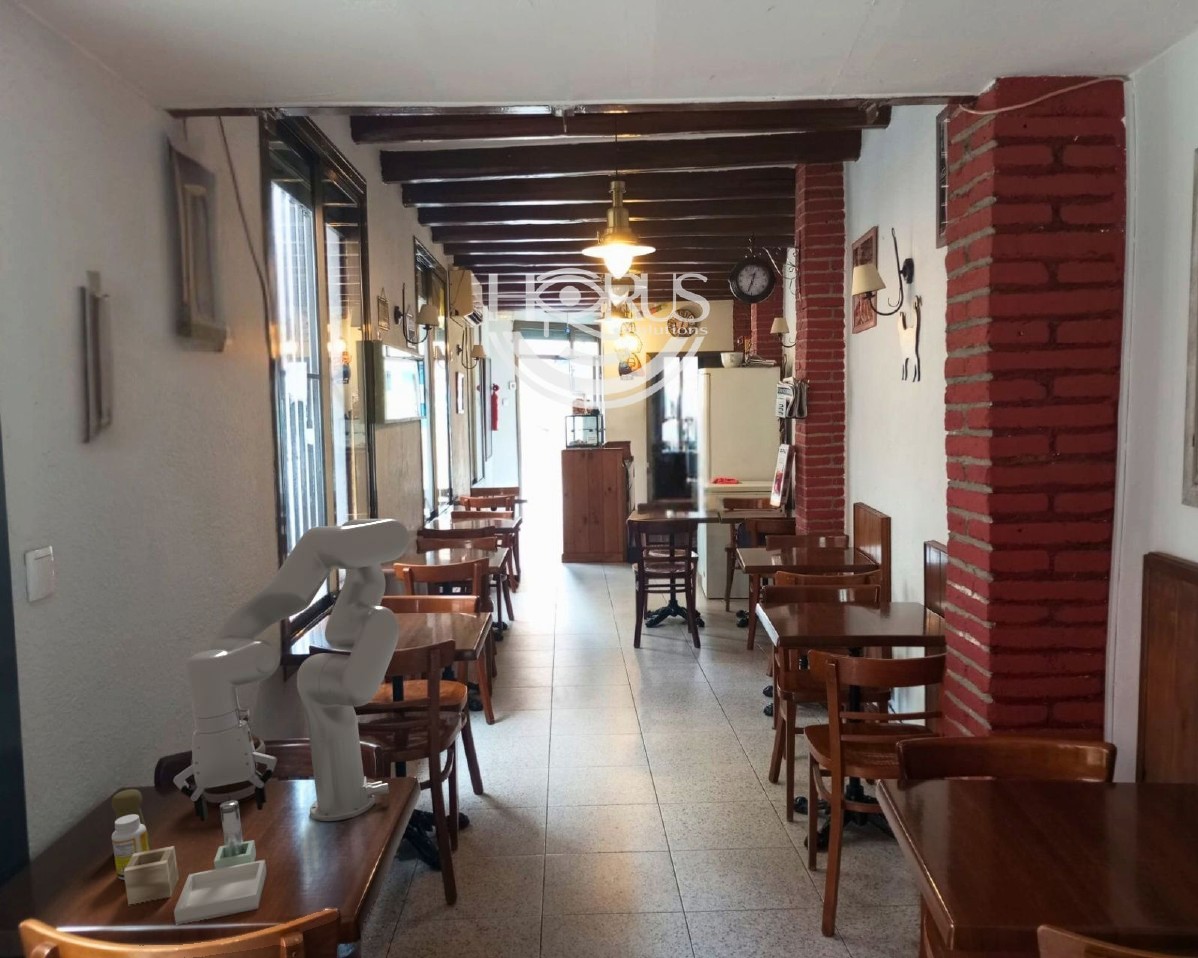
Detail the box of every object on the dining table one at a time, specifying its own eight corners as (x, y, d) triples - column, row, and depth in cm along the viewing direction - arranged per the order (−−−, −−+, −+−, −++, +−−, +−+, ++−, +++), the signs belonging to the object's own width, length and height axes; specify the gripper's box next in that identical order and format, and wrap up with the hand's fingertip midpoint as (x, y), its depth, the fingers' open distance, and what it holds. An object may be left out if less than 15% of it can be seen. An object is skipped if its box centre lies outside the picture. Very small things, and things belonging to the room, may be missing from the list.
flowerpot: (234, 815, 188) (221, 720, 187) (181, 807, 195) (168, 715, 193) (286, 786, 201) (275, 696, 200) (234, 779, 208) (223, 693, 206)
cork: (136, 855, 174) (128, 798, 174) (108, 854, 176) (100, 798, 175) (157, 839, 180) (150, 785, 179) (130, 839, 182) (123, 785, 181)
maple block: (178, 878, 163) (174, 845, 163) (170, 896, 157) (165, 862, 157) (138, 886, 162) (133, 853, 161) (128, 905, 156) (123, 871, 155)
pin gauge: (246, 857, 168) (239, 798, 167) (244, 865, 165) (236, 805, 164) (228, 860, 167) (221, 802, 167) (226, 868, 164) (218, 808, 164)
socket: (256, 854, 170) (254, 839, 170) (251, 869, 164) (249, 854, 164) (221, 861, 168) (219, 846, 168) (215, 876, 163) (213, 861, 162)
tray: (266, 872, 162) (264, 859, 162) (257, 908, 150) (256, 894, 150) (190, 887, 160) (189, 874, 159) (175, 925, 148) (173, 911, 147)
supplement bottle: (143, 862, 171) (136, 809, 170) (157, 870, 167) (149, 815, 166) (112, 876, 167) (104, 821, 166) (125, 884, 163) (117, 828, 162)
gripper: (271, 705, 170) (285, 794, 172) (170, 723, 166) (185, 814, 168) (266, 718, 163) (281, 811, 164) (161, 737, 159) (176, 832, 160)
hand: (232, 812), depth 166 cm, fingers open, 9 cm apart
